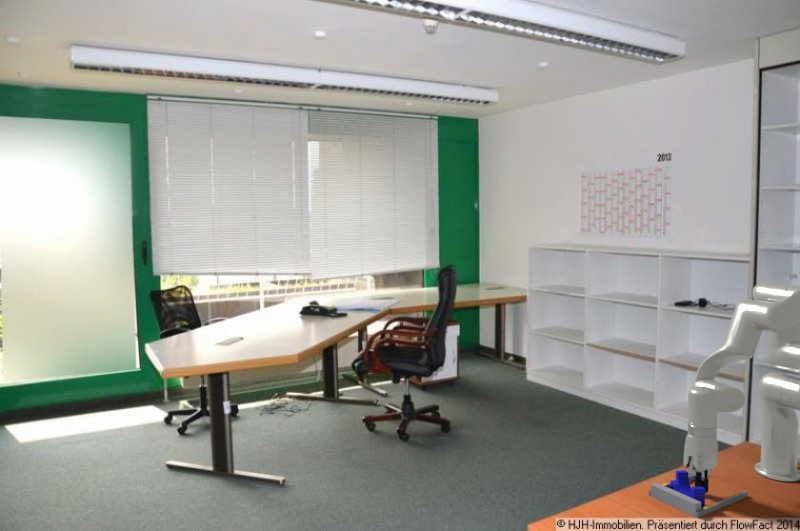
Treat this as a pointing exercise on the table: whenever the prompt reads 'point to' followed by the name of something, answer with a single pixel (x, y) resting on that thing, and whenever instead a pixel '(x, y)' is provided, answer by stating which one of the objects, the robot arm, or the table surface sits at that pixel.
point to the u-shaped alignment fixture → (689, 499)
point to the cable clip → (687, 487)
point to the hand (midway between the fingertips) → (701, 491)
